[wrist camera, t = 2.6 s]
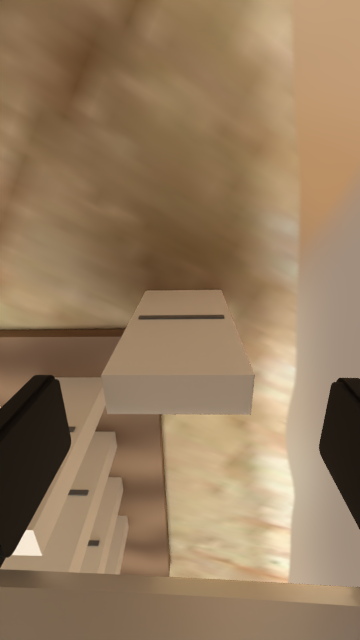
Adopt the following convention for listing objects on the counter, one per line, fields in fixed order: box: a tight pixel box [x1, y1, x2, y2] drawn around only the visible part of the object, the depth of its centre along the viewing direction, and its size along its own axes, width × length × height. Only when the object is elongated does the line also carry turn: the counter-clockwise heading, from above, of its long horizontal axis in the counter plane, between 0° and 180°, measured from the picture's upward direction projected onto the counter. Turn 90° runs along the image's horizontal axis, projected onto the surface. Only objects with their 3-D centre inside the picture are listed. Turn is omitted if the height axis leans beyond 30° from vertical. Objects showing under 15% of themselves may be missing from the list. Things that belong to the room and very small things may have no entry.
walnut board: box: [0, 329, 170, 577], centre depth 24 cm, size 28×12×1 cm, turn 1°
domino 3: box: [79, 477, 123, 574], centre depth 19 cm, size 2×5×10 cm, turn 91°
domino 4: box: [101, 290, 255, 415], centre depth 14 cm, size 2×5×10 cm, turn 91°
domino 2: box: [0, 432, 117, 573], centre depth 17 cm, size 2×5×10 cm, turn 92°
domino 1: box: [12, 377, 106, 556], centre depth 15 cm, size 2×5×10 cm, turn 91°
